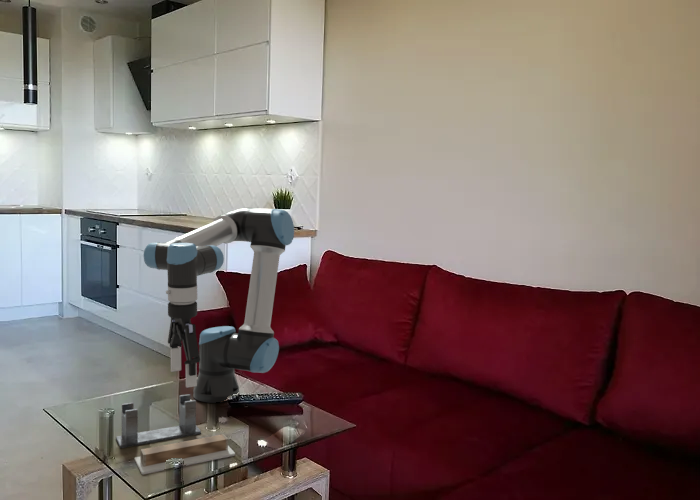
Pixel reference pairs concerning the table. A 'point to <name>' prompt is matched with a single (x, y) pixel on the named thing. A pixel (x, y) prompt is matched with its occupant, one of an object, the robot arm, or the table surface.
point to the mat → (187, 460)
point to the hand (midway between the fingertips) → (183, 378)
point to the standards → (134, 438)
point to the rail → (183, 449)
